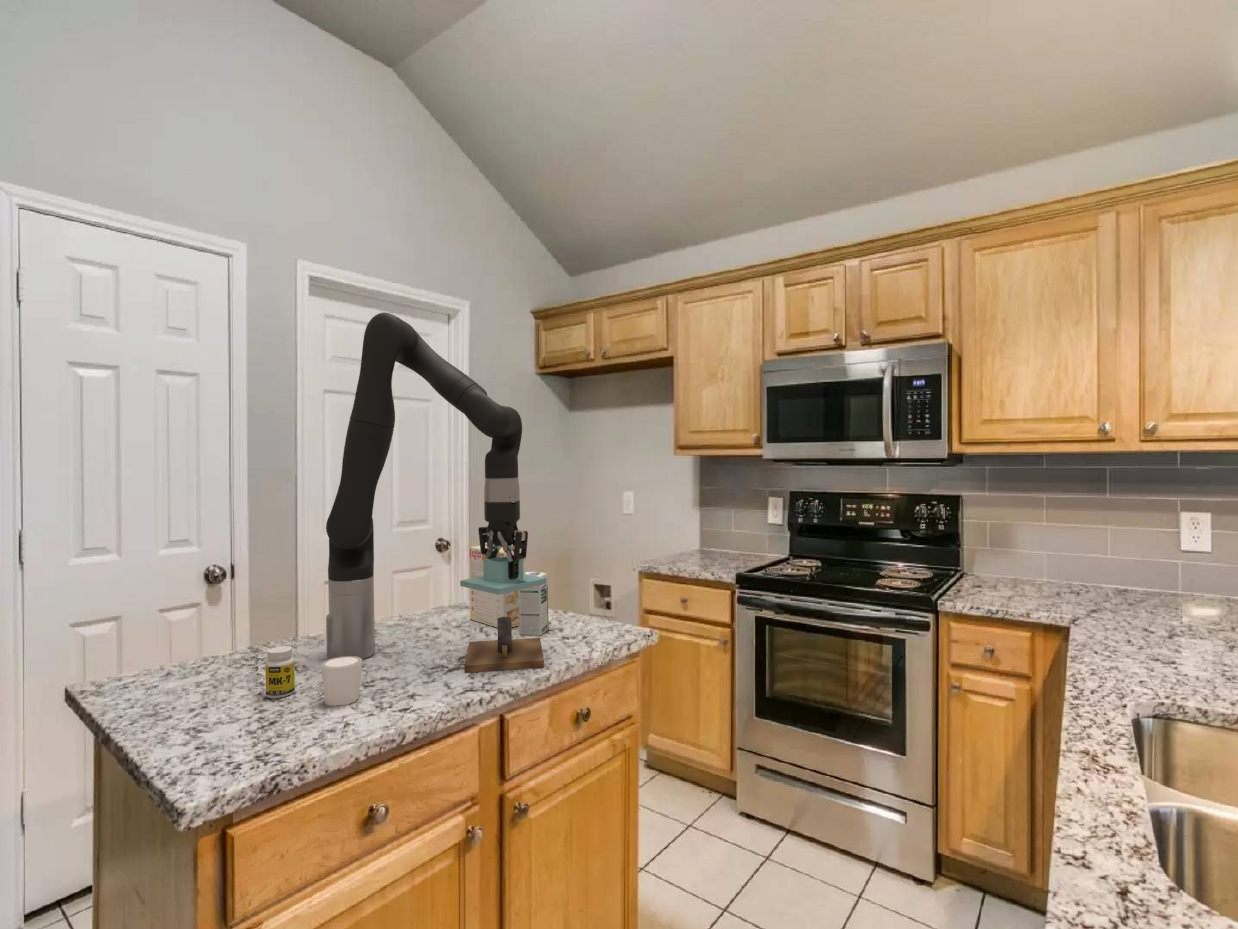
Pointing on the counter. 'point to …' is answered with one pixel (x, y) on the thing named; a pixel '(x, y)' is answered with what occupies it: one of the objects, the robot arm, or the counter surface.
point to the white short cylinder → (341, 679)
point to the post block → (504, 652)
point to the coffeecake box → (491, 595)
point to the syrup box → (534, 608)
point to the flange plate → (501, 578)
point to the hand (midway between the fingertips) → (503, 576)
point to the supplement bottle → (280, 672)
